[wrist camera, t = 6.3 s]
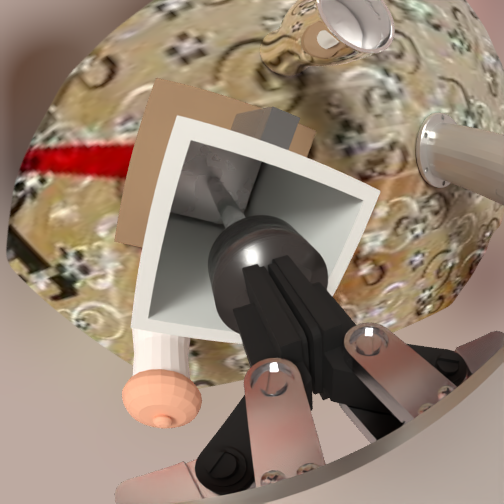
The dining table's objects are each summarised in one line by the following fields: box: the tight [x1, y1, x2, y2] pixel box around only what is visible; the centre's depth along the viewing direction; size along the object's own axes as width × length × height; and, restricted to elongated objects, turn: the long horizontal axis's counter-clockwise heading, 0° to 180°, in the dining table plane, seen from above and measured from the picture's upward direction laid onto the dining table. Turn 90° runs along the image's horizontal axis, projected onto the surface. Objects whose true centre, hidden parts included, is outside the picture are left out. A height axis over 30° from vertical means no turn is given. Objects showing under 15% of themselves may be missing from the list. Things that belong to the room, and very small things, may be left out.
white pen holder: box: [114, 78, 380, 344], centre depth 21 cm, size 18×18×20 cm
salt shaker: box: [122, 328, 202, 428], centre depth 27 cm, size 7×7×19 cm
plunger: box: [170, 140, 328, 334], centre depth 19 cm, size 8×8×20 cm
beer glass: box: [260, 0, 395, 76], centre depth 19 cm, size 7×7×15 cm
